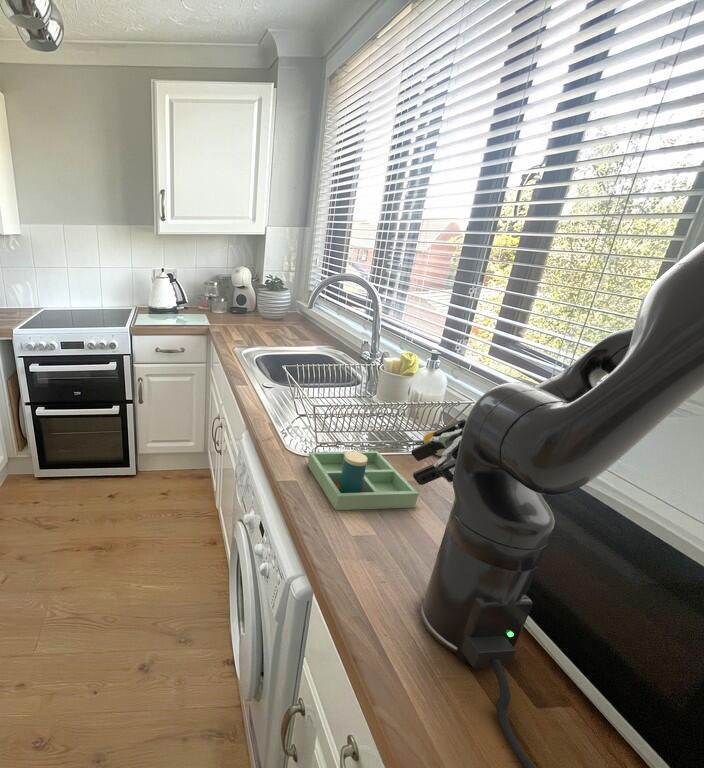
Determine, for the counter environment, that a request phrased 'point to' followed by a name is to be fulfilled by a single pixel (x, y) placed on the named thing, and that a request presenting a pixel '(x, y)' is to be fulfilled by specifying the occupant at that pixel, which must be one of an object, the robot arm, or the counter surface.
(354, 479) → the teal cream-capped cylinder
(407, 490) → the grid
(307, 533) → the counter surface
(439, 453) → the bread roll
